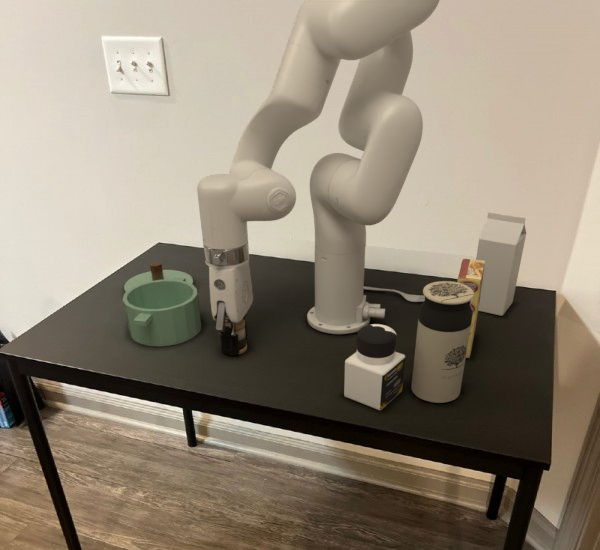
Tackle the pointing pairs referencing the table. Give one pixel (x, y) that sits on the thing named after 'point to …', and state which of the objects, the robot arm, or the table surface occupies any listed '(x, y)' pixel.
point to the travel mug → (442, 341)
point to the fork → (408, 297)
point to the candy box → (473, 278)
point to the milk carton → (500, 261)
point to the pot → (162, 312)
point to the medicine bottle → (374, 368)
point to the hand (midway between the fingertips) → (235, 345)
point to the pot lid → (156, 276)
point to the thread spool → (240, 335)
